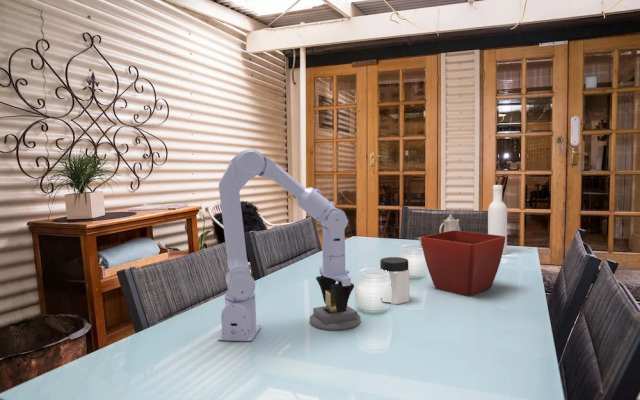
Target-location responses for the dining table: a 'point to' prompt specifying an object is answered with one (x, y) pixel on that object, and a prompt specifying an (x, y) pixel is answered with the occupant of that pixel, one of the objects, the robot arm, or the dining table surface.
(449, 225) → the chinaware
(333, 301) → the shaft
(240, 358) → the dining table surface
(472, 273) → the plant pot
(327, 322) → the hub
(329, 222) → the robot arm
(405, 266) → the jar
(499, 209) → the bottle
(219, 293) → the dining table surface
